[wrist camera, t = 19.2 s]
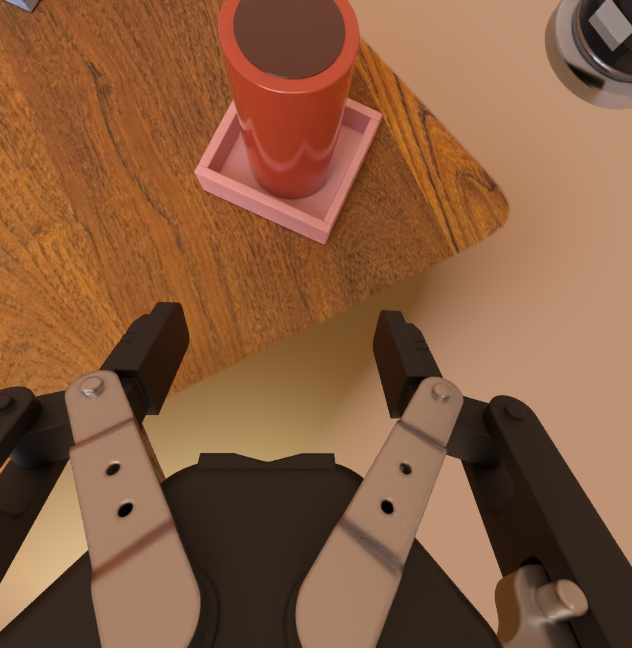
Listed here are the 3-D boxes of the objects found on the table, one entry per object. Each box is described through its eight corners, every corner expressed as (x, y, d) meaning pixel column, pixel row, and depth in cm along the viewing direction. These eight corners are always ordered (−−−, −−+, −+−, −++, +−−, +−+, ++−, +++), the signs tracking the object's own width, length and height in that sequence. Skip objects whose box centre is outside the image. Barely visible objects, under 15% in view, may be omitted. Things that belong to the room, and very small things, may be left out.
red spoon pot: (270, 106, 20) (255, -58, 12) (346, 142, 20) (381, 3, 12) (233, 177, 19) (191, 52, 11) (313, 213, 20) (326, 115, 12)
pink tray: (260, 83, 21) (256, 54, 19) (374, 136, 21) (383, 113, 19) (203, 190, 20) (193, 171, 18) (325, 245, 20) (328, 233, 18)
